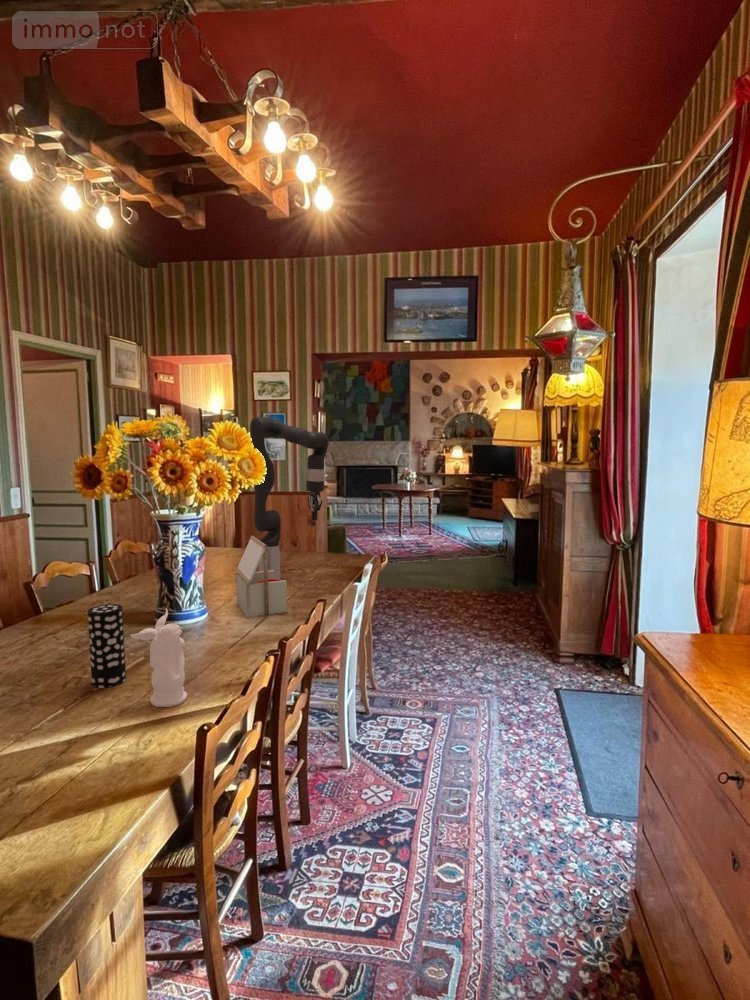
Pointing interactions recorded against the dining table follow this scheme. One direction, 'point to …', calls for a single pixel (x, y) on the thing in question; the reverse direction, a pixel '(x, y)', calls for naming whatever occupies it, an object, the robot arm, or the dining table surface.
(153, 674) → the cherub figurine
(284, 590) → the cold frame
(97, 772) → the dining table surface
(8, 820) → the dining table surface
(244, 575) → the lid
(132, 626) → the dining table surface
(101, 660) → the white-spotted black cylinder
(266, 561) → the prop stick
